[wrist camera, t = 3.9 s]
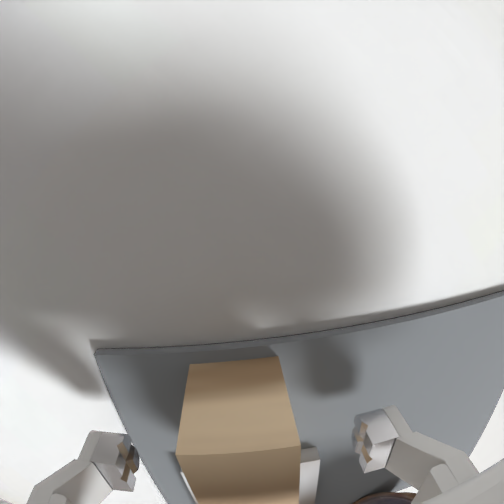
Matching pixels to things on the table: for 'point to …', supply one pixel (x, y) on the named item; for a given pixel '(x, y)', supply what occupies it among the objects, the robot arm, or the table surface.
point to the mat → (332, 389)
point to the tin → (387, 498)
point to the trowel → (243, 437)
